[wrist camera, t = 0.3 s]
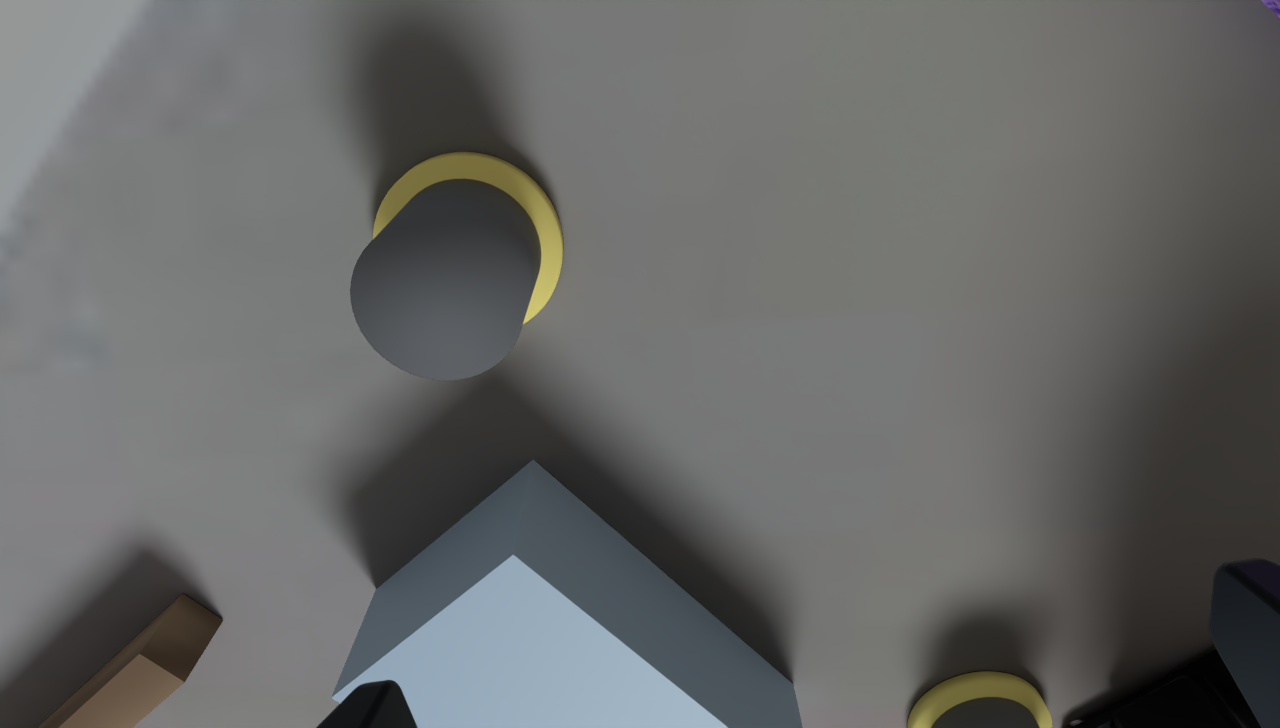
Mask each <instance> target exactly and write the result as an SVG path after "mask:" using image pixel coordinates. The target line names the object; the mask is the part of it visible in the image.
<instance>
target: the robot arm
mask: <svg viewBox="0 0 1280 728" xmlns="http://www.w3.org/2000/svg"><path fill="white" fill-rule="evenodd" d="M1209 629H1210V634H1211V638H1212V640H1213V643H1214V645H1215V647H1216V649H1217V650H1215V651H1213V652H1211V653H1209V654H1207V655H1206V656H1204V657H1202V658H1200V659H1198V660H1196V661H1195V662H1193V663H1191V664H1189V665H1187V666H1185V667H1183V668H1182V669H1180V670H1178V671H1176V672H1174V673H1172V674H1171V675H1169V676H1167V677H1165V678H1163V679H1161V680H1159V681H1158V682H1156V683H1154V684H1152V685H1150V686H1148V687H1146V688H1145V689H1143V690H1141V691H1139V692H1137V693H1135V694H1134V695H1132V696H1130V697H1128V698H1126V699H1124V700H1122V701H1121V702H1119V703H1117V704H1115V705H1113V706H1111V707H1109V708H1108V709H1106V710H1104V711H1102V712H1100V713H1098V714H1097V715H1095V716H1093V717H1091V718H1089V719H1087V720H1085V721H1084V722H1082V723H1080V724H1078V725H1076V726H1074V727H1072V728H1280V566H1279V565H1277V564H1275V563H1272V562H1270V561H1267V560H1264V559H1247V560H1240V561H1233V562H1226V563H1223V564H1221V565H1219V566H1218V567H1217V569H1216V570H1215V573H1214V578H1213V588H1212V597H1211V606H1210V615H1209ZM316 728H418V727H417V724H416V722H415V720H414V717H413V715H412V713H411V711H410V708H409V706H408V704H407V701H406V699H405V697H404V694H403V692H402V690H401V688H400V686H399V684H397V683H396V682H395V681H393V680H384V681H376V682H369V683H364V684H361V685H359V686H358V687H356V688H355V689H354V690H353V691H352V692H351V693H350V694H349V695H348V696H347V697H346V698H345V699H344V700H343V701H342V702H341V703H340V704H339V705H338V706H337V707H336V708H335V709H334V710H333V711H332V712H331V713H330V714H329V715H328V716H327V717H326V718H325V719H324V720H323V721H322V722H321V723H320V724H319V725H318V726H317V727H316Z"/></svg>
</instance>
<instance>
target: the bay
mask: <svg viewBox="0 0 1280 728" xmlns="http://www.w3.org/2000/svg"><path fill="white" fill-rule="evenodd" d="M222 622H223V620H222V619H220V618H219V617H217V616H216V615H214V614H213V613H211V612H210V611H208V610H207V609H205V608H204V607H202V606H201V605H199V604H198V603H196V602H195V601H193V600H192V599H190V598H189V597H187V596H186V595H184V594H183V593H182V594H181V595H180V596H179V597H178V598H177V599H176V600H175V601H174V602H173V603H172V604H171V605H170V606H168V607H167V608H166V609H165V610H164V611H163V612H162V613H161V614H160V615H159V616H158V617H157V618H155V619H154V620H153V621H152V622H151V623H150V624H149V625H148V626H147V627H146V628H145V629H144V630H142V631H141V632H140V633H139V634H138V635H137V636H136V637H135V638H134V639H133V640H132V641H131V642H130V643H128V644H127V645H126V646H125V647H124V648H123V649H122V650H121V651H120V652H119V653H118V654H117V655H115V656H114V657H113V658H112V659H111V660H110V661H109V662H108V663H107V664H106V665H105V666H104V667H103V668H101V669H100V670H99V671H98V672H97V673H96V674H95V675H94V676H93V677H92V678H91V679H90V680H88V681H87V682H86V683H85V684H84V685H83V686H82V687H81V688H80V689H79V690H78V691H77V692H76V693H74V694H73V695H72V696H71V697H70V698H69V699H68V700H67V701H66V702H65V703H64V704H63V705H61V706H60V707H59V708H58V709H57V710H56V711H55V712H54V713H53V714H52V715H51V716H50V717H48V718H47V719H46V720H45V721H44V722H43V723H42V724H41V725H40V726H39V727H38V728H132V727H134V726H135V725H136V724H137V723H138V722H139V721H140V720H142V719H143V718H144V717H145V716H146V715H147V714H148V713H150V712H151V711H152V710H153V709H154V708H155V707H157V706H158V705H159V704H160V703H161V702H162V701H163V700H165V699H166V698H167V697H168V696H169V695H170V694H172V693H173V692H174V691H175V690H176V689H177V688H178V687H180V686H181V685H182V684H183V683H184V682H185V681H186V679H187V677H188V676H189V674H190V673H191V671H192V669H193V668H194V666H195V665H196V663H197V662H198V660H199V658H200V657H201V655H202V654H203V652H204V650H205V649H206V647H207V646H208V644H209V642H210V641H211V639H212V638H213V636H214V634H215V633H216V631H217V630H218V628H219V626H220V625H221V623H222Z"/></svg>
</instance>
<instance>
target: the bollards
mask: <svg viewBox="0 0 1280 728" xmlns="http://www.w3.org/2000/svg"><path fill="white" fill-rule="evenodd" d="M563 252H564V243H563V233H562V229H561V224H560V221H559V218H558V215H557V213H556V211H555V209H554V207H553V205H552V203H551V201H550V200H549V198H548V197H547V195H546V194H545V192H544V191H543V190H542V189H541V187H540V186H539V185H538V184H537V183H536V182H535V181H534V180H533V179H532V178H531V177H530V176H528V175H527V174H526V173H525V172H523V171H522V170H520V169H519V168H518V167H516V166H514V165H512V164H510V163H508V162H507V161H505V160H502V159H499V158H497V157H494V156H491V155H486V154H482V153H475V152H452V153H446V154H441V155H438V156H435V157H431V158H429V159H427V160H425V161H423V162H421V163H419V164H418V165H416V166H415V167H413V168H411V169H410V170H409V171H408V172H407V173H406V174H405V175H403V176H402V177H401V178H400V179H399V180H398V181H397V182H396V183H395V184H394V185H393V186H392V188H391V189H390V190H389V191H388V192H387V194H386V196H385V197H384V199H383V201H382V202H381V205H380V207H379V210H378V212H377V215H376V219H375V223H374V231H373V240H372V241H371V242H370V243H369V245H368V246H367V247H366V248H365V249H364V251H363V252H362V254H361V255H360V257H359V259H358V261H357V263H356V265H355V268H354V271H353V275H352V279H351V288H350V294H351V304H352V309H353V313H354V316H355V319H356V322H357V324H358V326H359V328H360V330H361V332H362V333H363V335H364V336H365V338H366V340H367V341H368V342H369V343H370V345H371V346H372V347H373V348H374V349H375V350H376V351H377V352H378V353H379V354H380V355H381V356H382V357H383V358H385V359H386V360H387V361H389V362H390V363H391V364H393V365H395V366H396V367H398V368H400V369H402V370H404V371H406V372H408V373H410V374H413V375H416V376H419V377H423V378H428V379H432V380H459V379H465V378H469V377H473V376H476V375H478V374H481V373H483V372H485V371H487V370H489V369H490V368H492V367H494V366H495V365H496V364H497V363H499V362H500V361H501V360H502V359H503V358H504V357H505V356H506V355H507V354H508V353H509V351H510V350H511V349H512V347H513V346H514V344H515V342H516V340H517V339H518V337H519V334H520V331H521V328H522V325H523V324H524V323H526V322H527V321H529V320H530V319H531V318H533V317H534V316H535V315H536V314H537V313H538V312H539V311H540V310H541V309H542V308H543V307H544V305H545V304H546V303H547V301H548V300H549V299H550V297H551V295H552V293H553V291H554V289H555V287H556V284H557V281H558V278H559V275H560V271H561V266H562V261H563ZM907 728H1052V718H1051V715H1050V712H1049V711H1048V709H1047V707H1046V705H1045V703H1044V701H1043V700H1042V698H1041V696H1040V694H1039V692H1038V691H1037V690H1036V689H1035V688H1034V687H1033V686H1032V685H1031V684H1030V683H1028V682H1027V681H1025V680H1024V679H1022V678H1019V677H1017V676H1014V675H1011V674H1008V673H1002V672H993V671H981V672H972V673H967V674H962V675H959V676H956V677H953V678H950V679H948V680H946V681H944V682H942V683H940V684H938V685H936V686H935V687H933V688H932V689H930V690H929V691H928V692H926V693H925V694H924V695H923V696H922V697H921V698H920V699H919V700H918V701H917V703H916V704H915V705H914V707H913V709H912V711H911V713H910V715H909V718H908V723H907Z"/></svg>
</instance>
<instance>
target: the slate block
mask: <svg viewBox="0 0 1280 728" xmlns="http://www.w3.org/2000/svg"><path fill="white" fill-rule="evenodd" d="M384 680H393V681H395V682H396V683H397V684H399V686H400V688H401V690H402V692H403V694H404V697H405V699H406V701H407V704H408V706H409V708H410V711H411V713H412V715H413V717H414V720H415V722H416V724H417V727H418V728H802V723H801V718H800V713H799V709H798V704H797V699H796V695H795V690H794V685H793V684H792V683H791V682H790V681H789V680H788V679H786V678H785V677H784V676H783V675H782V674H781V673H779V672H778V671H777V670H776V669H775V668H774V667H772V666H771V665H770V664H769V663H768V662H767V661H766V660H764V659H763V658H762V657H761V656H760V655H759V654H757V653H756V652H755V651H754V650H753V649H752V648H751V647H749V646H748V645H747V644H746V643H745V642H744V641H742V640H741V639H740V638H739V637H738V636H737V635H735V634H734V633H733V632H732V631H731V630H730V629H729V628H727V627H726V626H725V625H724V624H723V623H722V622H720V621H719V620H718V619H717V618H716V617H715V616H714V615H712V614H711V613H710V612H709V611H708V610H707V609H705V608H704V607H703V606H702V605H701V604H700V603H699V602H697V601H696V600H695V599H694V598H693V597H692V596H690V595H689V594H688V593H687V592H686V591H685V590H683V589H682V588H681V587H680V586H679V585H678V584H677V583H675V582H674V581H673V580H672V579H671V578H670V577H668V576H667V575H666V574H665V573H664V572H663V571H662V570H660V569H659V568H658V567H657V566H656V565H655V564H653V563H652V562H651V561H650V560H649V559H648V558H646V557H645V556H644V555H643V554H642V553H641V552H640V551H638V550H637V549H636V548H635V547H634V546H633V545H631V544H630V543H629V542H628V541H627V540H626V539H625V538H623V537H622V536H621V535H620V534H619V533H618V532H616V531H615V530H614V529H613V528H612V527H611V526H609V525H608V524H607V523H606V522H605V521H604V520H603V519H601V518H600V517H599V516H598V515H597V514H596V513H594V512H593V511H592V510H591V509H590V508H589V507H588V506H586V505H585V504H584V503H583V502H582V501H581V500H579V499H578V498H577V497H576V496H575V495H574V494H572V493H571V492H570V491H569V490H568V489H567V488H566V487H564V486H563V485H562V484H561V483H560V482H559V481H557V480H556V479H555V478H554V477H553V476H552V475H551V474H549V473H548V472H547V471H546V470H545V469H544V468H542V467H541V466H540V465H539V464H538V463H537V462H535V461H534V460H532V461H531V462H529V463H528V464H527V465H526V466H525V467H523V468H522V469H521V470H520V471H519V472H517V473H516V474H515V475H514V476H513V477H511V478H510V479H509V480H508V481H506V482H505V483H504V484H503V485H502V486H500V487H499V488H498V489H497V490H496V491H494V492H493V493H492V494H491V495H490V496H488V497H487V498H486V499H485V500H483V501H482V502H481V503H480V504H479V505H477V506H476V507H475V508H474V509H473V510H471V511H470V512H469V513H468V514H467V515H465V516H464V517H463V518H462V519H460V520H459V521H458V522H457V523H456V524H454V525H453V526H452V527H451V528H450V529H448V530H447V531H446V532H445V533H444V534H442V535H441V536H440V537H439V538H437V539H436V540H435V541H434V542H433V543H431V544H430V545H429V546H428V547H427V548H425V549H424V550H423V551H422V552H421V553H419V554H418V555H417V556H416V557H415V558H413V559H412V560H411V561H410V562H408V563H407V564H406V565H405V566H404V567H402V568H401V569H400V570H399V571H398V572H396V573H395V574H394V575H393V576H392V577H390V578H389V579H388V580H387V581H385V582H384V583H383V584H382V585H381V586H379V587H378V588H377V589H376V591H375V593H374V596H373V598H372V600H371V603H370V605H369V608H368V610H367V613H366V615H365V617H364V620H363V622H362V625H361V627H360V629H359V632H358V634H357V637H356V639H355V642H354V644H353V646H352V649H351V651H350V654H349V656H348V658H347V661H346V663H345V666H344V668H343V671H342V673H341V675H340V678H339V680H338V683H337V685H336V687H335V690H334V692H333V695H332V697H331V698H333V699H334V700H336V701H337V702H339V703H341V702H342V701H343V700H344V699H345V698H346V697H347V696H348V695H349V694H350V693H351V692H352V691H353V690H354V689H355V688H356V687H358V686H359V685H361V684H364V683H369V682H376V681H384Z"/></svg>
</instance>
